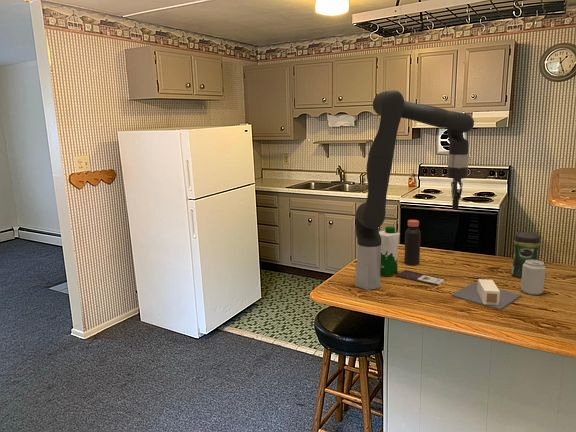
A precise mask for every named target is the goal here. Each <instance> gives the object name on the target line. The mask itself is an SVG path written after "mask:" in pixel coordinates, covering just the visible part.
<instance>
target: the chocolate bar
mask: <svg viewBox="0 0 576 432" xmlns="http://www.w3.org/2000/svg"><path fill="white" fill-rule="evenodd" d="M394 277H396V278H399V279H404V280H408V281H413V282H417V283H421V284H424V285H431V286H433V287H434V286H435V287H438V286H439V285H441V284H442V283H444V282H445V281H446V280H447V279H446V278H444V277H440V276H435V275H430V274H426V273H420V272H415V271H411V270H407V269H406V270H403V271H401V272H400V273H398V274H395V275H394Z"/></svg>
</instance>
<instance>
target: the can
mask: <svg viewBox="0 0 576 432" xmlns="http://www.w3.org/2000/svg"><path fill="white" fill-rule="evenodd" d="M545 276H546V266H545V263H544V261H542V260H539V259H537V260H526V261H525V263H524V264H523V268H522V278H521V282H520V291H522V292H523V293H524V294H527V295H530V296H538V295H541V294H543V293H544V288H545V287H544V286H545Z"/></svg>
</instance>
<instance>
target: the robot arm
mask: <svg viewBox="0 0 576 432" xmlns="http://www.w3.org/2000/svg"><path fill="white" fill-rule="evenodd" d="M372 109H373V111H374V112H375V113H376V114H377V115H378V116H380V119H379V125H378V129H377V132H376V134H375V136H374V139H373V141H372V143H371V145H370V148H369V151H368V156H367V162H366V181H367V197H366V201H365V202H363V203H361V204H360V205H358V207H357V209H356V212H355V236H356V240H357V241H356V242H357V243H356V245H357V248H356V250H357V251H356V253H357V254H356V263H355V278H354V279H355V281H354V282H355V283H354V285H355V287H356V288H358V289H359V288H360V289H363V290H365V291H369V290H376V289H379V288H380V287H381V278H382V275H381V236H380V234H379V232H380V231H379V229H380V227H381V226H382V225H383V223H384V221H385V218H386V211H387V210H386V208H387V207H386V206H387V196H388V195H387V194H388V188H389V183H390V177H391V172H392V166H393V162H394V156H395V155H394V154H395V147H396V143H397V138H398V137H397V136H398V130H399V127H400V123H401V119H407V120H411V121H413V122H414V121H415V122H418V123H421V124H425V125H429V126H432V127H436V128H441V129H446V132H447V133H446V134H447V137H448V142H449V147H448V148H449V150H448V159H447V174H446V177H447V178H448V179H452V181H451V182H450V187H451V188H450V189H451V191H450V193H451V199H452V204H451V206H452V207H451V208H452V210H459V206H460V202H459V201H460V200H461V197H462V192H463V182H462V179H463V180H464V179H467V178H468V172H469V171H468V170H469V140H467V139H466V138H464V137H465V136H464V133H465V134H466V133H469V132H470V131H472V129H473V127H474V126H475V125H474V124H475V120H474V118H473V116H471V115H470V114H468V113H465V112H459V111H453V110H448V109H445V108H442V107H438V106H434V105H429V104H422V103H415V102H411V101H406V100H405V98H404V96H403V94H402V93H401V92H400V91H398V90H395V89H394V90H393V89H392V90H386V91H382V92H379V93H378V94H376V96H374V98H373V100H372Z"/></svg>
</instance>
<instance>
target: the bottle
mask: <svg viewBox="0 0 576 432" xmlns="http://www.w3.org/2000/svg"><path fill="white" fill-rule="evenodd" d="M419 225H420V221H419V220H417V219H408V220H407V227H408V228H407V229H406V230H405V232H404V256H403V257H404V258H403V259H404V262H403V263H404V264H405V265H407V266H418V265H420V259H421V258H420V257H421V236H422V235H421V231H420V229H419V227H420V226H419Z"/></svg>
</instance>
